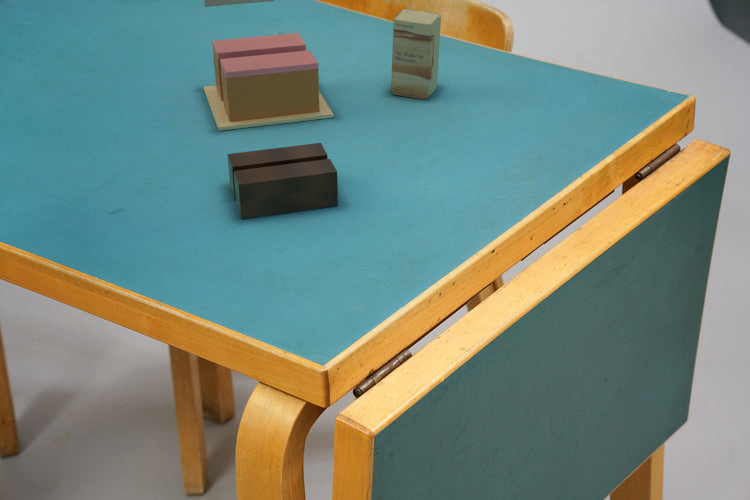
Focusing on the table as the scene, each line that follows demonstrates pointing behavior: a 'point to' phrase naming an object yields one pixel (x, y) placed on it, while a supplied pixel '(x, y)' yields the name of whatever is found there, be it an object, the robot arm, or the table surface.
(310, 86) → the pink slotted holder
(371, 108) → the table surface
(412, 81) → the cosmetic box
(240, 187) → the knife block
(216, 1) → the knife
